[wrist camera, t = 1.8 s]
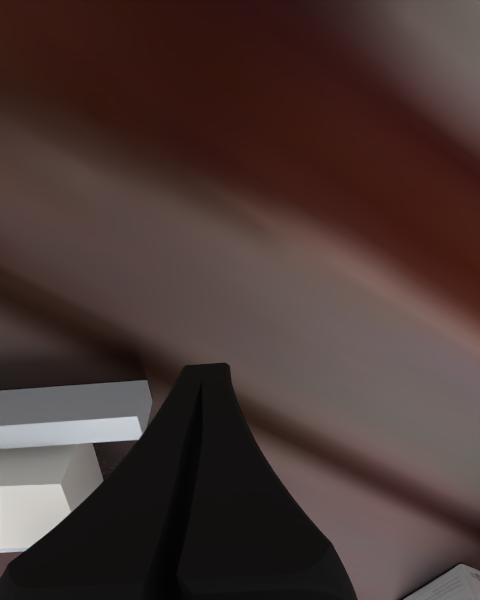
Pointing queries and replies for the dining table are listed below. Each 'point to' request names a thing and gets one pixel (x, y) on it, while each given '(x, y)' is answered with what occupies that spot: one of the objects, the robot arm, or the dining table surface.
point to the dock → (73, 415)
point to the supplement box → (452, 586)
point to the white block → (43, 489)
